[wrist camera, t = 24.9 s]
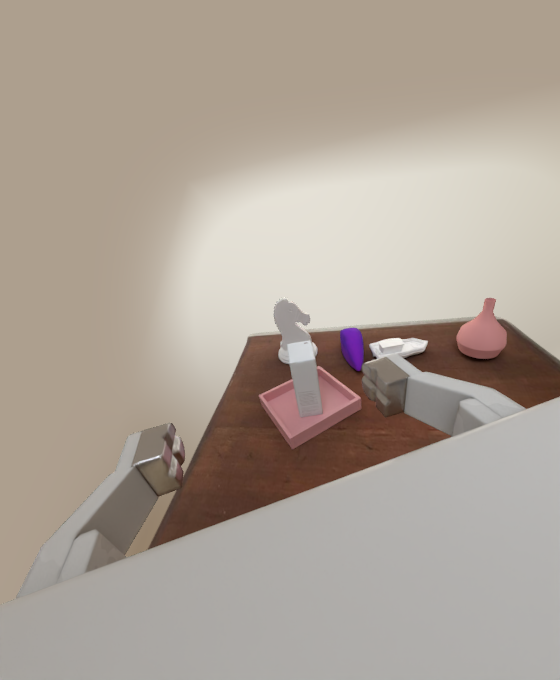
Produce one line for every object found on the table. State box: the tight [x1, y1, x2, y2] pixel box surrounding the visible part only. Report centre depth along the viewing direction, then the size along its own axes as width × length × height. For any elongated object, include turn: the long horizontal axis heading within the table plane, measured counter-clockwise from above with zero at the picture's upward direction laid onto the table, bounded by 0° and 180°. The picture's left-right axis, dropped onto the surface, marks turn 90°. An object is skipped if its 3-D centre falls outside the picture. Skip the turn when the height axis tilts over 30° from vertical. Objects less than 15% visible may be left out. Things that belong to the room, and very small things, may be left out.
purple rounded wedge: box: [340, 328, 364, 371], centre depth 57 cm, size 5×5×15 cm
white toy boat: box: [369, 338, 428, 359], centre depth 55 cm, size 6×12×3 cm, turn 93°
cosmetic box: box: [287, 340, 323, 418], centre depth 43 cm, size 6×4×12 cm
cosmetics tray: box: [259, 366, 361, 450], centre depth 46 cm, size 14×12×3 cm
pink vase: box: [457, 298, 507, 359], centre depth 48 cm, size 8×8×12 cm
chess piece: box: [274, 298, 317, 364], centre depth 59 cm, size 10×10×15 cm
